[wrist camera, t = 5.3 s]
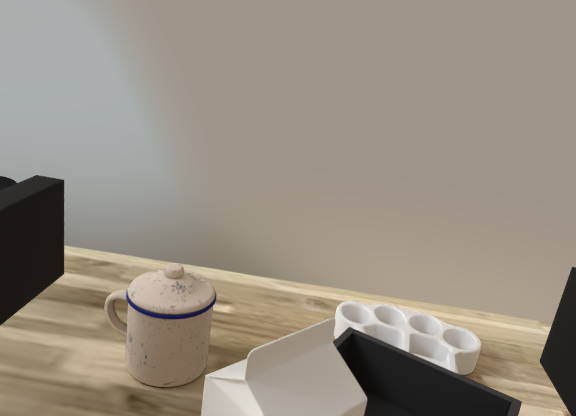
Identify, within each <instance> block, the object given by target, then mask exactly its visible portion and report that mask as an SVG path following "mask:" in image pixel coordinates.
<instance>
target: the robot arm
mask: <svg viewBox="0 0 576 416" xmlns="http://www.w3.org/2000/svg"><path fill="white" fill-rule="evenodd" d="M63 274H64V180H61V179H56V178H50V177H44V176H38V175H36V176H33V177H31V178H29V179H26V180H24V181H22V182H19V183H17V184H15V185H12V186H10V187H7V188H5V189H3V190H0V325H1V324H3V323H4V322H5V321H6V320H7V319H9V318H10V317H11V316H12V315H14V314H15V313H16V312H17V311H19V310H20V309H21V308H22V307H24V306H25V305H26V304H27V303H29V302H30V301H31V300H32V299H33V298H35V297H36V296H37V295H38V294H40V293H41V292H42V291H43V290H45V289H46V288H47V287H48V286H50V285H51V284H52V283H53V282H55V281H56V280H57V279H58V278H60V277H61V276H62V275H63ZM540 363H541V365H542V366H543V368H544V370H545V372H546V373H547V375H548V377H549V378H550V380H551V382H552V383H553V385H554V387H555V389H556V390H557V392H558V394H559V395H560V397H561V399H562V400H563V402H564V404H565V406H566V407H567V409H568V411H569V412H570V414H571V416H576V268H575V267H572V269H571V272H570V275H569V278H568V281H567V284H566V286H565V289H564V292H563V295H562V298H561V301H560V304H559V307H558V309H557V312H556V315H555V318H554V321H553V324H552V327H551V330H550V333H549V335H548V338H547V341H546V344H545V347H544V350H543V353H542V356H541V359H540Z"/></svg>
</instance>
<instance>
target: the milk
mask: <svg viewBox="0 0 576 416" xmlns="http://www.w3.org/2000/svg"><path fill="white" fill-rule="evenodd" d="M335 324H336V321H335V319H333V318H330V319H327V320H325V321H322V322H320V323H317V324H315V325H312V326H310V327H307V328H305V329H302V330H300V331H297V332H295V333H292V334H290V335H287V336H285V337H282V338H280V339H277V340H274V341H272V342H269V343H267V344H264V345H262V346H259V347H257V348H254V349H252V350H251V351H250V353H249V354H248V356H247V359H244V360H242V361H239V362H237V363H234V364H232V365H230V366H227V367H225V368H222V369H220V370H217V371H215V372H212V373H210V374H208V375H206V376H205V383H204V392H203V402H202V411H201V416H364V413H365V409H366V404H367V397H366V395H365V393H364V392H363V390H362V388H361V387H360V385H359V384H358V382H357V380H356V379H355V377H354V376H353V374H352V372H351V371H350V369H349V368H348V366H347V364H346V363H345V361H344V360H343V358H342V357H341V355H340V353H339V352H338V350H337V349H336V347H335V345H334V344H333V341H332V340H333V334H334V329H335Z"/></svg>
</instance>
